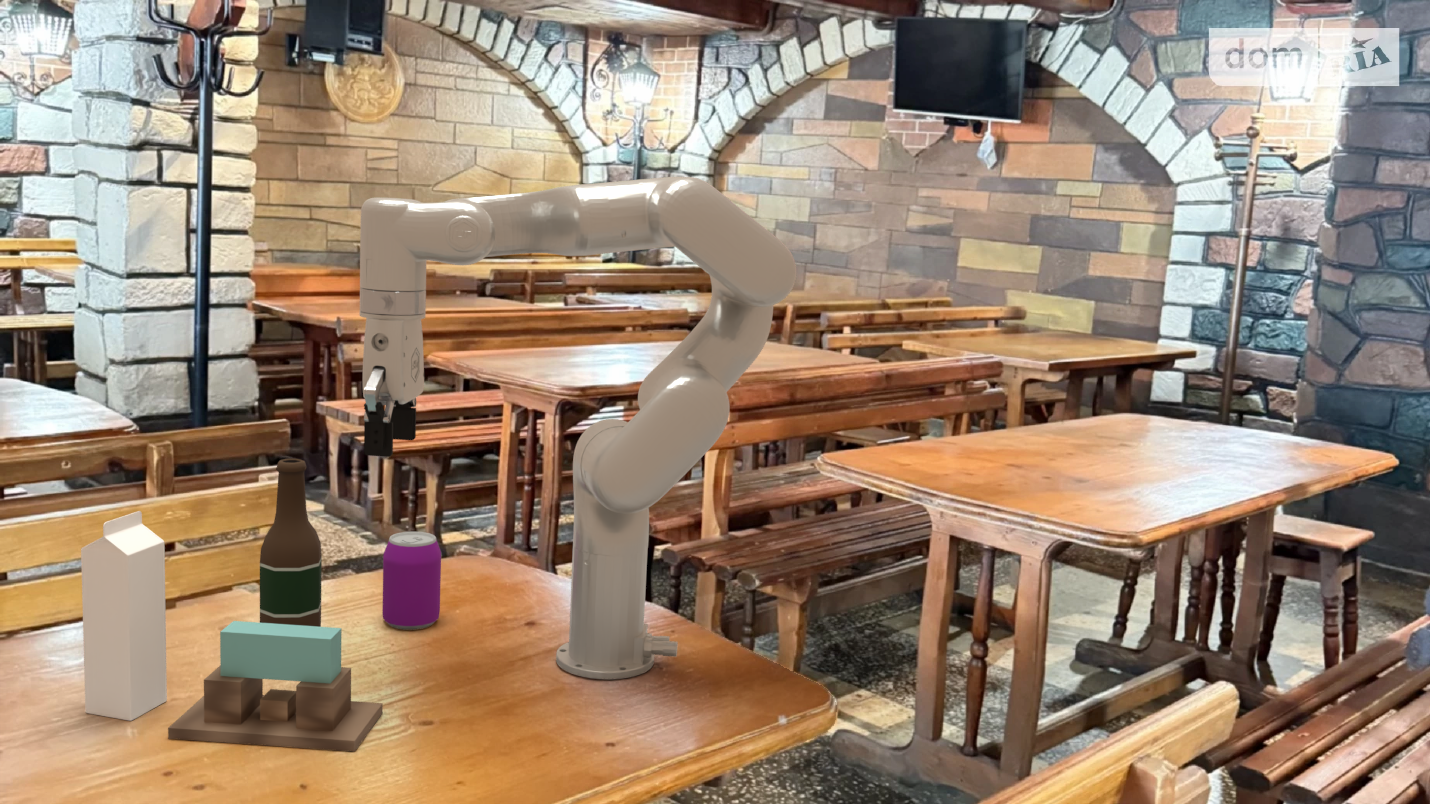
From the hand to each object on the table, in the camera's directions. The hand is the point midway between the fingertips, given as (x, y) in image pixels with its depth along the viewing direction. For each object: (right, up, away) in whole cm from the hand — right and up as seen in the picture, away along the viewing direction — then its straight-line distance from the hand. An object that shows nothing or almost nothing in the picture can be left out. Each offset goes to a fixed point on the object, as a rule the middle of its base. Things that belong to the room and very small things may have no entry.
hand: (390, 447), depth 150 cm
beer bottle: (-16, -26, +13) cm, 33 cm away
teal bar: (-9, -24, -13) cm, 29 cm away
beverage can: (-3, -25, +23) cm, 34 cm away
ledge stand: (-9, -30, -12) cm, 34 cm away
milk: (-27, -29, -9) cm, 41 cm away
